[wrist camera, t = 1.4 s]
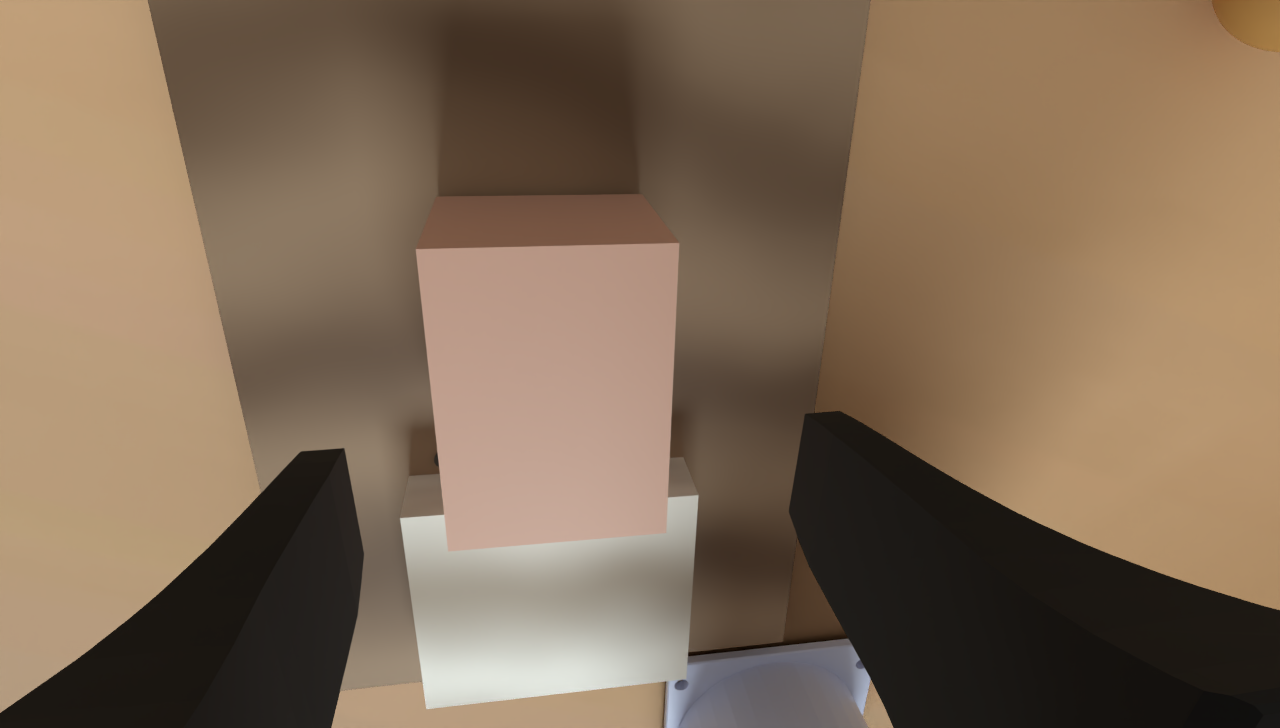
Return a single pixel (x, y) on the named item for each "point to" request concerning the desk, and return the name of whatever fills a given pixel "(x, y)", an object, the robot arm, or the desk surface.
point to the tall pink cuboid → (549, 365)
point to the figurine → (1251, 21)
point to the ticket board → (514, 166)
